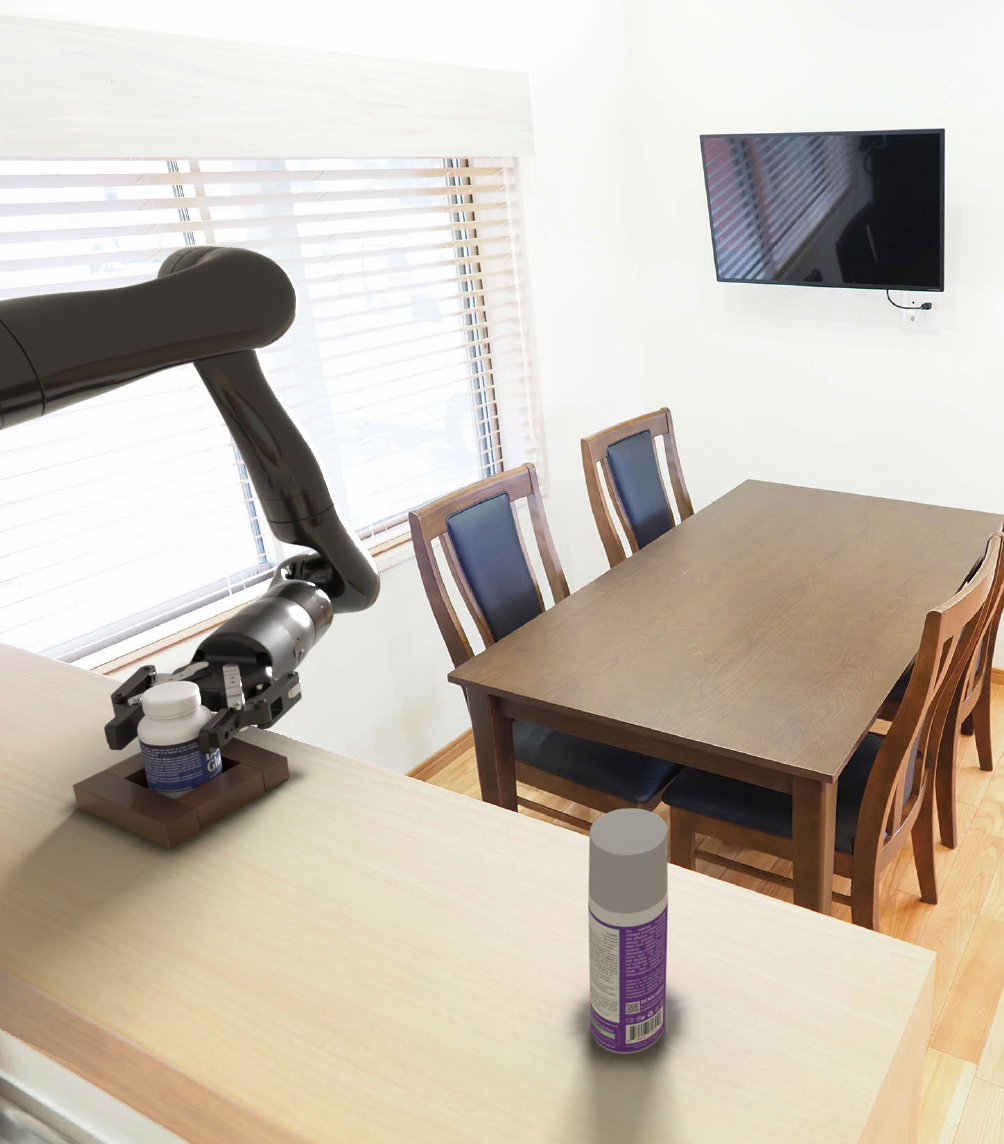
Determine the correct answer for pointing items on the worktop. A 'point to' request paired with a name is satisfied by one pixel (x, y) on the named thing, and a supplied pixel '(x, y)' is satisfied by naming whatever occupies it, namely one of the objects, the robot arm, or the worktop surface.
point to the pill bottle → (175, 739)
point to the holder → (172, 821)
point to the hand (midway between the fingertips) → (158, 742)
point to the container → (628, 929)
